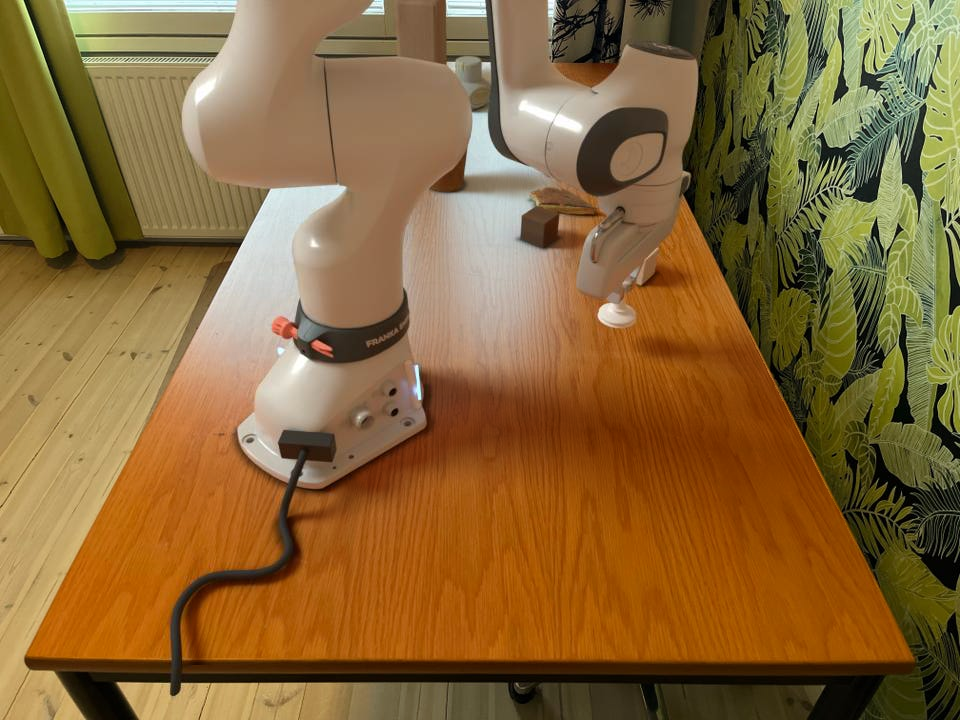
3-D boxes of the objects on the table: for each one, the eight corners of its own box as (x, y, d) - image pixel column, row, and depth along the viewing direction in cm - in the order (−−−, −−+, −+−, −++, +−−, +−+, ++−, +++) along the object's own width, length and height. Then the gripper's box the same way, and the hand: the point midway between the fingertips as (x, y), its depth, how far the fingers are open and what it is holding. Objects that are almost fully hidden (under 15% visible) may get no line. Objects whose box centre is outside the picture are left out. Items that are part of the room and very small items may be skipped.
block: (398, 90, 171) (393, -2, 158) (408, 76, 178) (404, -12, 166) (439, 93, 169) (437, 1, 157) (447, 79, 177) (446, -10, 164)
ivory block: (641, 285, 106) (645, 260, 103) (615, 275, 108) (619, 250, 105) (654, 273, 109) (659, 248, 106) (628, 263, 111) (633, 238, 108)
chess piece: (641, 313, 93) (654, 246, 87) (627, 332, 90) (640, 264, 83) (606, 302, 95) (616, 235, 89) (591, 321, 92) (601, 253, 85)
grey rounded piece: (473, 95, 169) (474, 50, 162) (498, 104, 164) (499, 59, 158) (438, 105, 163) (437, 60, 157) (462, 115, 158) (462, 69, 152)
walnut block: (542, 248, 114) (544, 223, 111) (520, 239, 116) (521, 215, 113) (557, 237, 117) (559, 213, 114) (535, 229, 119) (536, 205, 116)
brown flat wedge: (596, 216, 123) (598, 206, 122) (561, 227, 119) (562, 218, 118) (557, 192, 130) (558, 183, 129) (523, 202, 126) (524, 193, 125)
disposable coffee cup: (442, 201, 126) (440, 135, 119) (409, 182, 132) (406, 118, 124) (482, 185, 131) (483, 121, 124) (449, 169, 137) (448, 106, 129)
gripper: (623, 237, 73) (605, 343, 82) (696, 170, 87) (675, 268, 95) (569, 220, 76) (558, 324, 85) (648, 157, 89) (632, 253, 98)
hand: (620, 294), depth 90 cm, fingers closed on chess piece
